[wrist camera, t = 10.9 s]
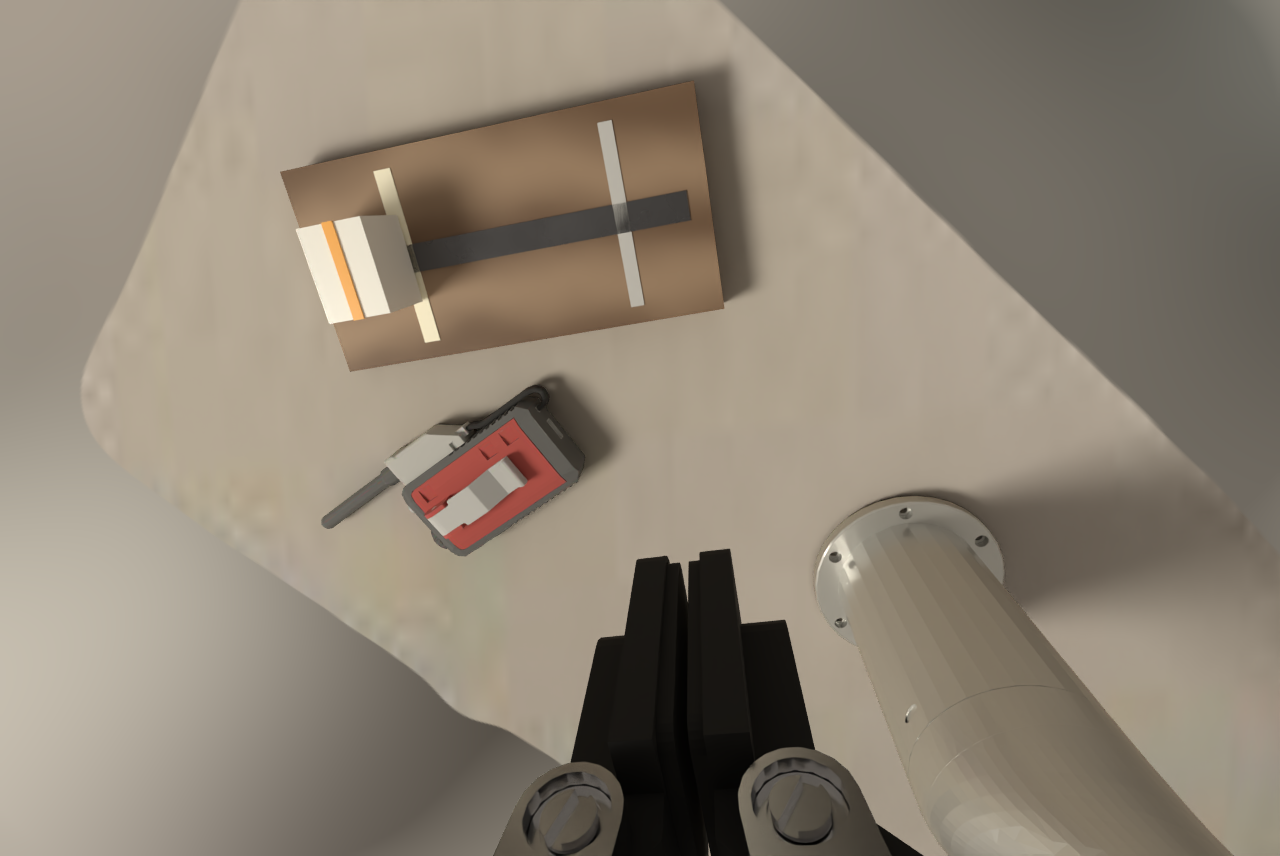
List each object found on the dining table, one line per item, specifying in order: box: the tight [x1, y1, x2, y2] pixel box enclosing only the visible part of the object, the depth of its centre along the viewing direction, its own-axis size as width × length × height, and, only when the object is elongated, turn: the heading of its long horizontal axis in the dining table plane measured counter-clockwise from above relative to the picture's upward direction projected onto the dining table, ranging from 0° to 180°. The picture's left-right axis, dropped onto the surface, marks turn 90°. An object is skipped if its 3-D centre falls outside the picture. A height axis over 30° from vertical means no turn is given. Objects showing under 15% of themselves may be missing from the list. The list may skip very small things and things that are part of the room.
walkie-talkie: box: [322, 385, 585, 556], centre depth 41 cm, size 9×4×20 cm
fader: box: [296, 215, 423, 324], centre depth 34 cm, size 5×4×4 cm
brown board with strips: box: [280, 81, 724, 372], centre depth 36 cm, size 12×24×2 cm, turn 100°
